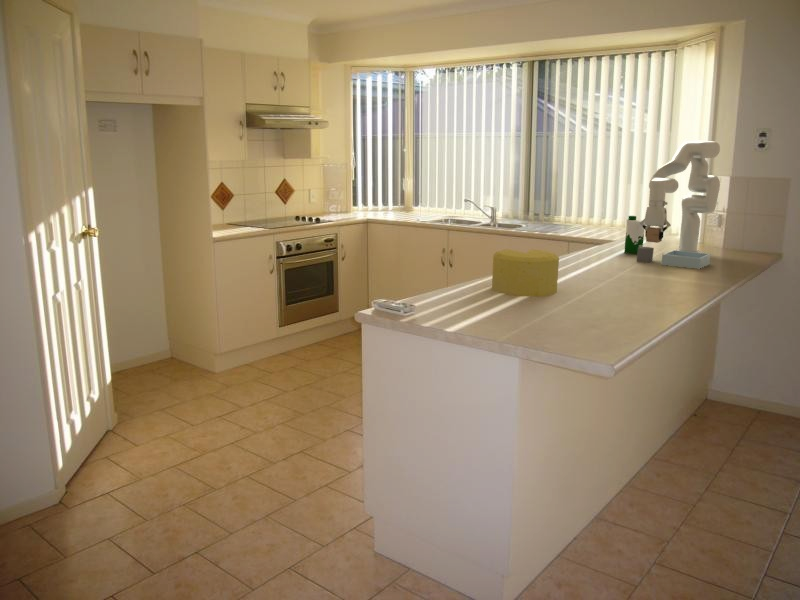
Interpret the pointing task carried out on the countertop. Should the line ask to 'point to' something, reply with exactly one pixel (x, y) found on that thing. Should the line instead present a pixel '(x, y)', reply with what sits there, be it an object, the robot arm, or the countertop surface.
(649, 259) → the charcoal block
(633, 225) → the soya milk
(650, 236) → the walnut block
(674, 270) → the countertop surface
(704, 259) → the bin
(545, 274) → the cheese
